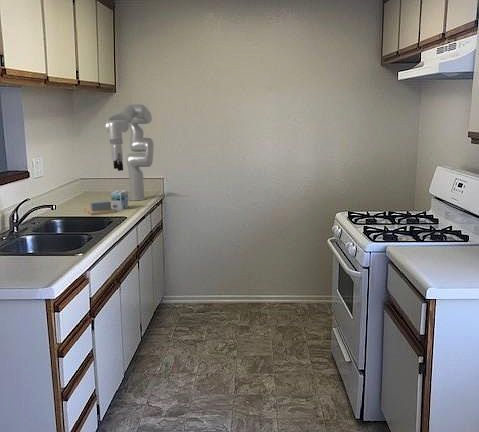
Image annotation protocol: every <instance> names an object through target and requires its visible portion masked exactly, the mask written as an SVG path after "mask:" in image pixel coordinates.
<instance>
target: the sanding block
mask: <svg viewBox="0 0 479 432" xmlns="http://www.w3.org/2000/svg"><path fill="white" fill-rule="evenodd" d="M89 205H90V206H89V207H90V208H91V211H92V212H97V211H107V210H111V209H112V201H110V200H98V201H90V202H89Z"/></svg>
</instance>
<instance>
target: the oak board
mask: <svg viewBox="0 0 479 432" xmlns="http://www.w3.org/2000/svg"><path fill="white" fill-rule="evenodd" d="M82 210H83V211H84V212H86V213H87V214H88V215H90V216H95V215H96V216H97V215H98V216H99V215H105V214H106V215H107V214H115V212H116V210H113V209H112V208H111V210H107V211H97V212H92V211H91V208H90V206H84V207H83V206H82Z"/></svg>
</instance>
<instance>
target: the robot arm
mask: <svg viewBox="0 0 479 432" xmlns="http://www.w3.org/2000/svg"><path fill="white" fill-rule="evenodd" d="M152 119H153V116H152V113H151V112H150V111H149V109H148V108H147V106H145V105H144V104H141V103H139V104H128V105H126V106H125V107H124V108H123V109H122V111H120V112H118V113H116V114H114V115H112V116H110V117H108V119H107V120H106V122H105V130H106V131H107V133H108V135H109V145H110V152H111V154H110V155H111V160H112V163H113V169H115V170H116V169H117V171H119V172H120V171H124V163H123V160H124V157H123V147H122V145H123V144H124V142H123V141H124V140H123V133H126V132H128V131H129V130H130V140H129V141H130V142H129V149H130V151H131V153H128V154H127V155H126V160H125V161H126V164H127V168H128V182H129V183H128V184H129V194H130V195H129V196H128V201H134V202H135V201H145V200H147V199H148V198H147V196H145V186H144V185H145V183H144V173H143V170H142V169H141V168H148V167H151V166H152V165H153V161H154V150H155V149H154V141H153V139H152V138H151V137H144V130H143V128H142V127H141V125H147V124H150V123H151V122H152Z"/></svg>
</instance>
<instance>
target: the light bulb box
mask: <svg viewBox="0 0 479 432" xmlns="http://www.w3.org/2000/svg"><path fill="white" fill-rule="evenodd" d="M110 198H111V209H113V210H115V211H116V210H117V211H123V210H126V209H127V208H129V200H128V198H129V193H128V190H118V189H117V190H115V191H112V192H110Z"/></svg>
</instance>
